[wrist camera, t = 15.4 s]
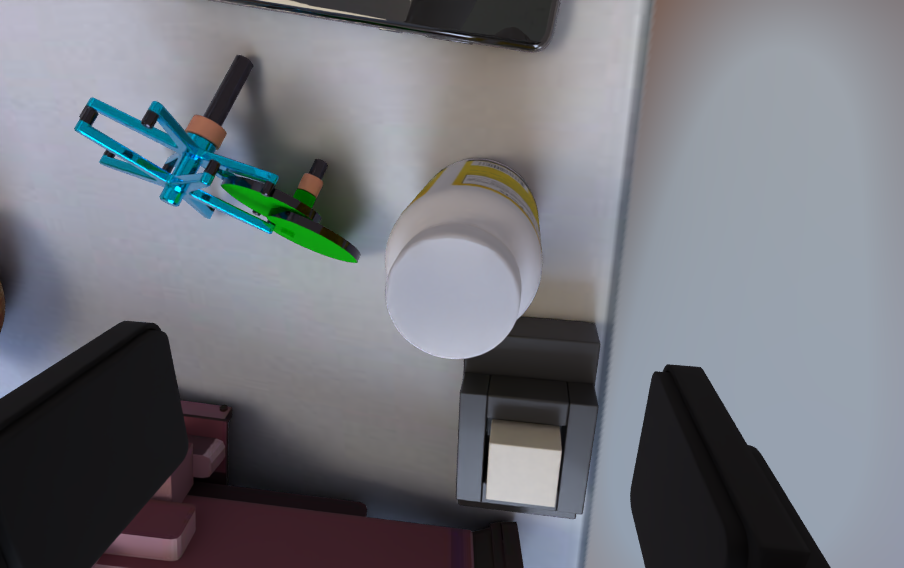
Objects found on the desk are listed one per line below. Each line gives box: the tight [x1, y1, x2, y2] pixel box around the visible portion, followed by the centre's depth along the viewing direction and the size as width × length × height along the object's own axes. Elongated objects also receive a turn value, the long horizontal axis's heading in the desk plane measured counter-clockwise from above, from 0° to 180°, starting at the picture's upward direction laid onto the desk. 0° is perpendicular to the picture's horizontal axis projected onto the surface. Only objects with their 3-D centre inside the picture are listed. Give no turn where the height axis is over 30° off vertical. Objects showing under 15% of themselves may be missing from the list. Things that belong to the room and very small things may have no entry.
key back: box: [486, 419, 562, 507], centre depth 24 cm, size 3×3×2 cm
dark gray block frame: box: [456, 317, 600, 519], centre depth 26 cm, size 10×6×4 cm, turn 178°
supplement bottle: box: [385, 158, 542, 359], centre depth 20 cm, size 5×5×10 cm
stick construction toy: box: [74, 55, 361, 263], centre depth 23 cm, size 12×7×8 cm
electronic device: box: [91, 400, 524, 568], centre depth 28 cm, size 11×27×10 cm, turn 80°
